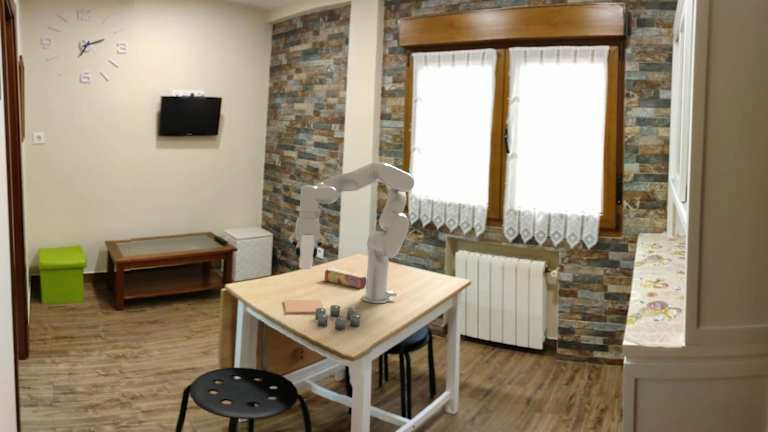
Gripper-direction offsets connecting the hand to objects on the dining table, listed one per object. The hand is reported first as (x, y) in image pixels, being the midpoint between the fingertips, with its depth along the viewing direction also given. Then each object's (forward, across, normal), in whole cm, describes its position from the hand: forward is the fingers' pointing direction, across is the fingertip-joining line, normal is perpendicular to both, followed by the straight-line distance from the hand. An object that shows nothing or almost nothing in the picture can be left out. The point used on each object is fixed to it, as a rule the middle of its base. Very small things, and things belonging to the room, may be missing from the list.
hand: (306, 256), depth 255 cm
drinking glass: (+5, 0, 0) cm, 5 cm away
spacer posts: (+23, -12, +18) cm, 31 cm away
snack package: (+23, -24, -37) cm, 50 cm away
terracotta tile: (+23, 0, 0) cm, 23 cm away
